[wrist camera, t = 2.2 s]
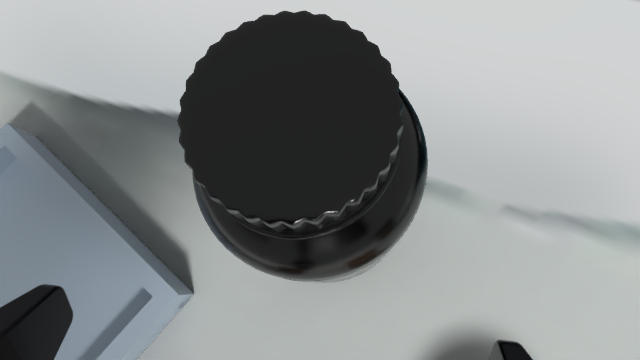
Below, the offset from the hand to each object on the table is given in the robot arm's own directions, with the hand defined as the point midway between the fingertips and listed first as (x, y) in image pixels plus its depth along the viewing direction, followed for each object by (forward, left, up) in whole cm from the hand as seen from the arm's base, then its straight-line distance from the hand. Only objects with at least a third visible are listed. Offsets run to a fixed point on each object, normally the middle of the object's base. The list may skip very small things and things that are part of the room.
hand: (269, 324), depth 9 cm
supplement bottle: (+2, -4, -11) cm, 12 cm away
